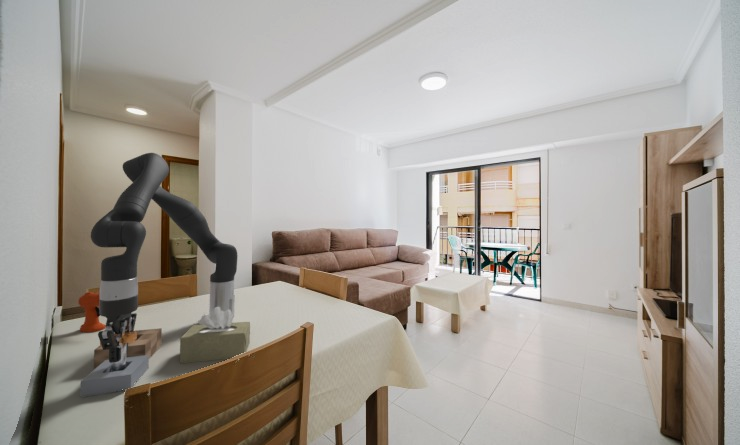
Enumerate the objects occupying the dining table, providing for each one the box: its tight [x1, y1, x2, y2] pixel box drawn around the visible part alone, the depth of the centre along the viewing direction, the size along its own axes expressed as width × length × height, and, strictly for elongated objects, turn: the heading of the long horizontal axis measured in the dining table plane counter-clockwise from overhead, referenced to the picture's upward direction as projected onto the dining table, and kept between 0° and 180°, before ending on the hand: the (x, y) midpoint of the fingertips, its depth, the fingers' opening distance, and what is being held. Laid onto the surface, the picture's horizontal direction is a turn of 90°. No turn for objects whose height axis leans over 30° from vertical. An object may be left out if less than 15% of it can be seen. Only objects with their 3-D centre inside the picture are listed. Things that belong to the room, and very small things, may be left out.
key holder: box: [79, 355, 150, 398], centre depth 71 cm, size 10×10×4 cm
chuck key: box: [99, 332, 137, 372], centre depth 71 cm, size 7×3×12 cm, turn 110°
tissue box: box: [179, 307, 251, 364], centre depth 88 cm, size 19×10×16 cm, turn 105°
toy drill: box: [77, 291, 106, 333], centre depth 101 cm, size 5×19×15 cm, turn 91°
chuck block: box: [93, 327, 163, 370], centre depth 83 cm, size 12×12×6 cm
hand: (118, 357), depth 71 cm, fingers closed on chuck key, 3 cm apart
